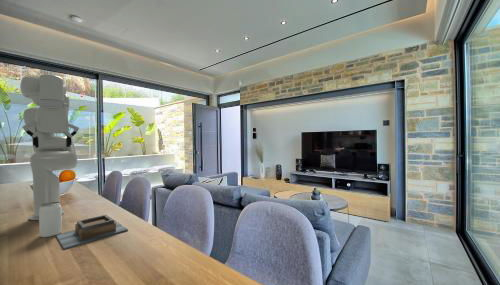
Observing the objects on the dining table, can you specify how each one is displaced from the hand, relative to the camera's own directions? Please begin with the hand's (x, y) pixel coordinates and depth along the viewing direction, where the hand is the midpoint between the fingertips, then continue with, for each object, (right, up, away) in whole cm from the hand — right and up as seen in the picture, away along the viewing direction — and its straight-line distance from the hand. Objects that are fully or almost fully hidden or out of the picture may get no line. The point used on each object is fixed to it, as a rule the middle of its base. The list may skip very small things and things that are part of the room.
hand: (53, 147), depth 90 cm
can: (+3, -34, -4) cm, 35 cm away
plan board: (+20, -34, -3) cm, 39 cm away
